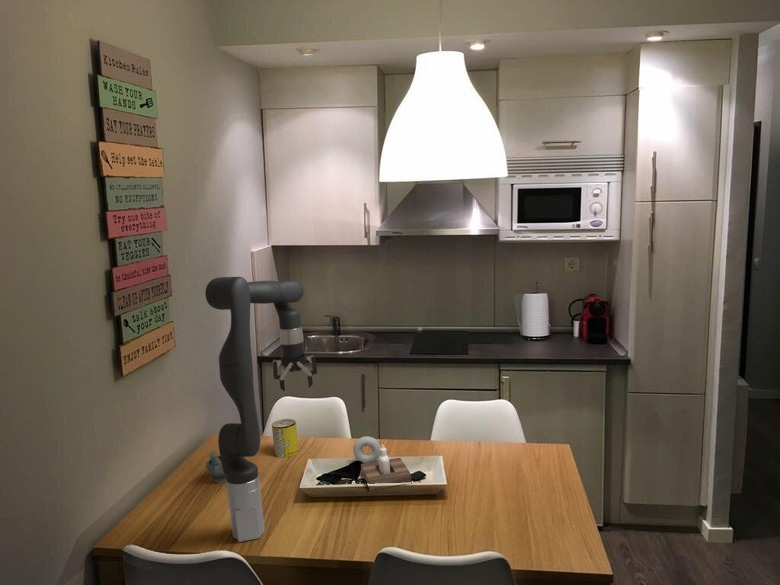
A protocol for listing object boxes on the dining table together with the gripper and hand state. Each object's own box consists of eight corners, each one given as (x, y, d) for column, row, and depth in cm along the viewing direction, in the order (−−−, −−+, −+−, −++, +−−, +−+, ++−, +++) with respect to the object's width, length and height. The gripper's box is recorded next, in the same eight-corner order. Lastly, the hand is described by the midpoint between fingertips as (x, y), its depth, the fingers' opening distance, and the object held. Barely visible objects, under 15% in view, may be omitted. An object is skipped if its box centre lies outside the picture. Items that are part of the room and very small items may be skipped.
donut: (382, 460, 242) (380, 433, 240) (382, 464, 238) (379, 437, 237) (354, 462, 242) (352, 435, 240) (353, 466, 239) (351, 439, 237)
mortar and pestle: (215, 473, 242) (211, 441, 240) (240, 473, 240) (236, 441, 239) (202, 487, 231) (198, 454, 229) (228, 487, 229) (224, 453, 228)
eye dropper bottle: (393, 475, 228) (390, 441, 227) (389, 482, 223) (386, 448, 221) (381, 475, 230) (378, 441, 228) (376, 482, 224) (373, 448, 222)
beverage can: (279, 448, 260) (275, 419, 259) (301, 448, 259) (298, 418, 257) (271, 458, 252) (268, 427, 250) (295, 457, 250) (291, 427, 248)
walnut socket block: (411, 483, 221) (410, 473, 221) (369, 491, 218) (369, 480, 218) (400, 467, 235) (400, 457, 234) (361, 473, 232) (360, 464, 231)
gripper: (270, 346, 216) (275, 394, 218) (315, 340, 219) (319, 388, 221) (269, 341, 223) (274, 388, 225) (312, 336, 226) (316, 382, 228)
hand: (296, 388), depth 223 cm, fingers open, 8 cm apart
